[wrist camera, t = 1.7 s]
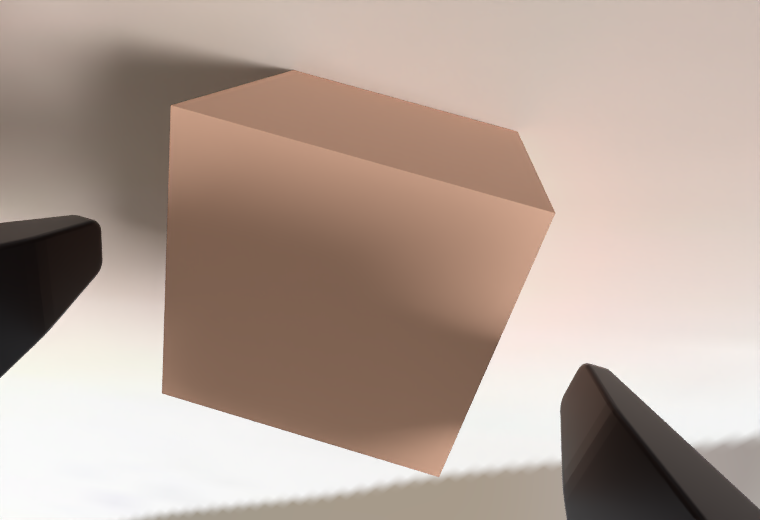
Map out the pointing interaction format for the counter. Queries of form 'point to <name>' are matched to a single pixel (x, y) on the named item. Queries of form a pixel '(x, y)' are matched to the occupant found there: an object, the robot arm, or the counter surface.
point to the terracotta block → (342, 261)
